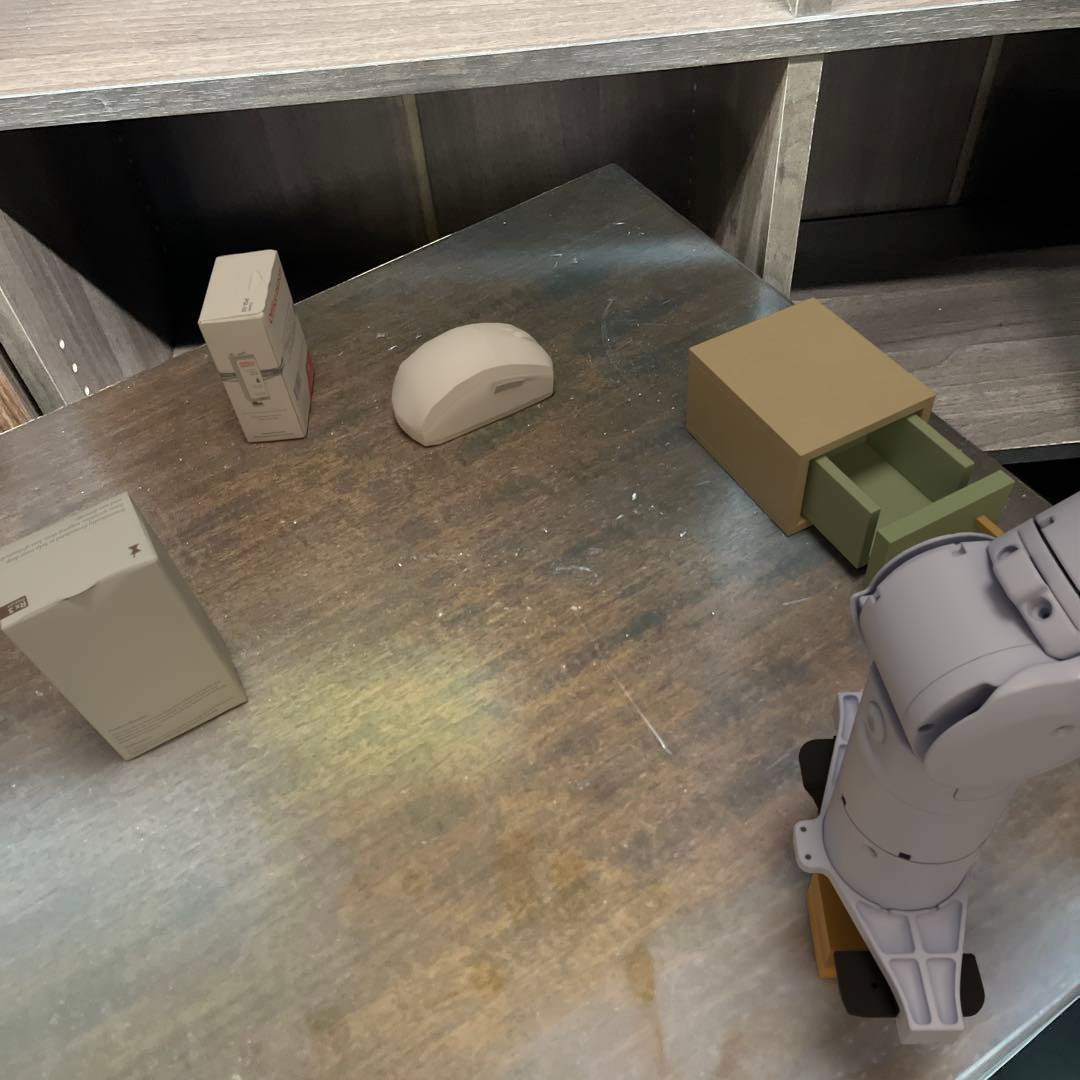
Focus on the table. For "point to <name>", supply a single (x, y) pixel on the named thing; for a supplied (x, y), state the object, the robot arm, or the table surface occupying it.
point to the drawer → (899, 493)
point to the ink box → (258, 345)
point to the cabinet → (792, 400)
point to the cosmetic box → (116, 627)
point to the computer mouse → (469, 381)
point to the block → (830, 925)
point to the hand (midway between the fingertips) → (858, 921)
